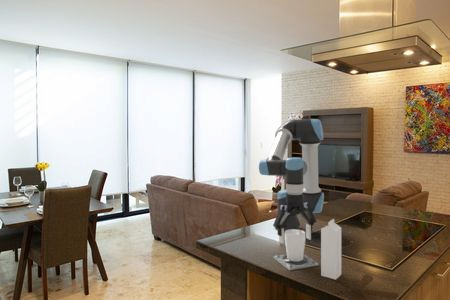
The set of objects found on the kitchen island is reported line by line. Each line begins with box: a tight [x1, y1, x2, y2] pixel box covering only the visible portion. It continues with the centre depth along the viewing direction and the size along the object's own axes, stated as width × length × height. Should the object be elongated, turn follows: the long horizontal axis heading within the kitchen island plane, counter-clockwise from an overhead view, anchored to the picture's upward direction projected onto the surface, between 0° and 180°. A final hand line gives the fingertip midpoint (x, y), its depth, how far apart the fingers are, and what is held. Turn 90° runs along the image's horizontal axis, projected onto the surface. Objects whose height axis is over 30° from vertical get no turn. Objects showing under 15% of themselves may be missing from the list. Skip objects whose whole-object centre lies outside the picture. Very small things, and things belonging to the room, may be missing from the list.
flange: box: [273, 253, 319, 271], centre depth 142 cm, size 14×14×2 cm
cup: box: [284, 229, 307, 262], centre depth 142 cm, size 9×9×12 cm
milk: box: [320, 218, 342, 281], centre depth 127 cm, size 6×6×22 cm
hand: (295, 240), depth 142 cm, fingers open, 13 cm apart
